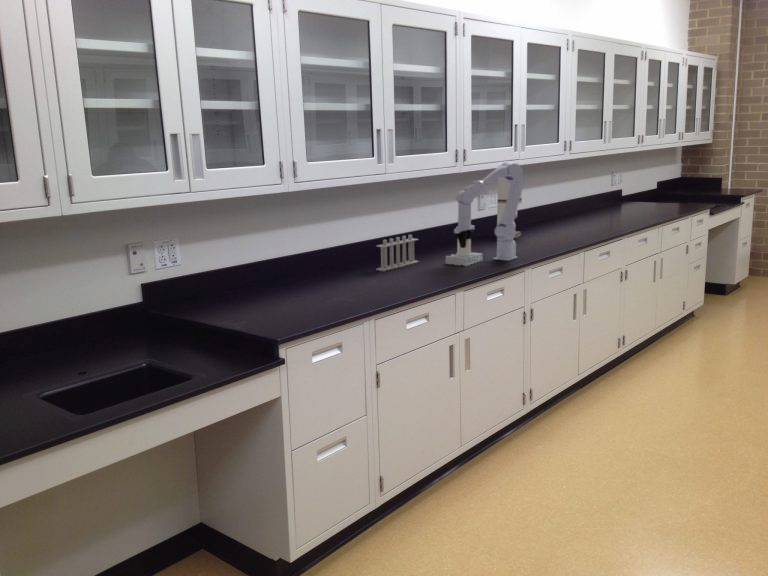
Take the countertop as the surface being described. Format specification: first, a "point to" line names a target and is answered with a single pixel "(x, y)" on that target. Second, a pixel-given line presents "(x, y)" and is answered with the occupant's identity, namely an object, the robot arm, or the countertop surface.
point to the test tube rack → (397, 253)
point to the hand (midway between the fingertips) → (464, 247)
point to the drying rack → (464, 259)
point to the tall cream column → (504, 199)
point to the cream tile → (464, 250)
